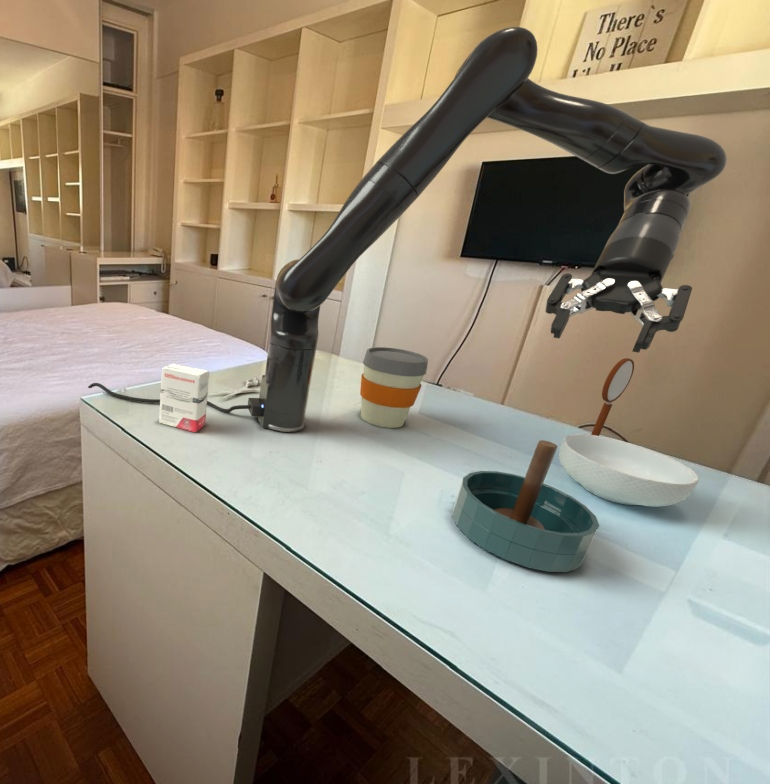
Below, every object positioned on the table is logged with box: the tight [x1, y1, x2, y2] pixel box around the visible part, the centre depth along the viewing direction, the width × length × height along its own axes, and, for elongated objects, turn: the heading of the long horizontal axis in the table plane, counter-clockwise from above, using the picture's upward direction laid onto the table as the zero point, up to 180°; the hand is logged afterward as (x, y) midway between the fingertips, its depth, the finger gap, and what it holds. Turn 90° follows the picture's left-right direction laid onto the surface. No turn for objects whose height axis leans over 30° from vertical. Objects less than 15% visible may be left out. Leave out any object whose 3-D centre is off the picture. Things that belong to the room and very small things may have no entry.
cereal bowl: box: [558, 433, 699, 507], centre depth 76 cm, size 17×17×7 cm
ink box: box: [158, 363, 210, 433], centre depth 90 cm, size 8×5×12 cm, turn 63°
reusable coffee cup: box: [359, 346, 429, 429], centre depth 99 cm, size 13×13×15 cm
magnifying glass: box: [590, 357, 635, 436], centre depth 87 cm, size 9×2×20 cm, turn 117°
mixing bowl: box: [451, 470, 600, 573], centre depth 63 cm, size 15×15×6 cm
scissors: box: [209, 376, 260, 400], centre depth 112 cm, size 11×1×20 cm
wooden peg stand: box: [494, 439, 558, 530], centre depth 61 cm, size 6×6×14 cm
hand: (595, 341), depth 62 cm, fingers open, 8 cm apart
